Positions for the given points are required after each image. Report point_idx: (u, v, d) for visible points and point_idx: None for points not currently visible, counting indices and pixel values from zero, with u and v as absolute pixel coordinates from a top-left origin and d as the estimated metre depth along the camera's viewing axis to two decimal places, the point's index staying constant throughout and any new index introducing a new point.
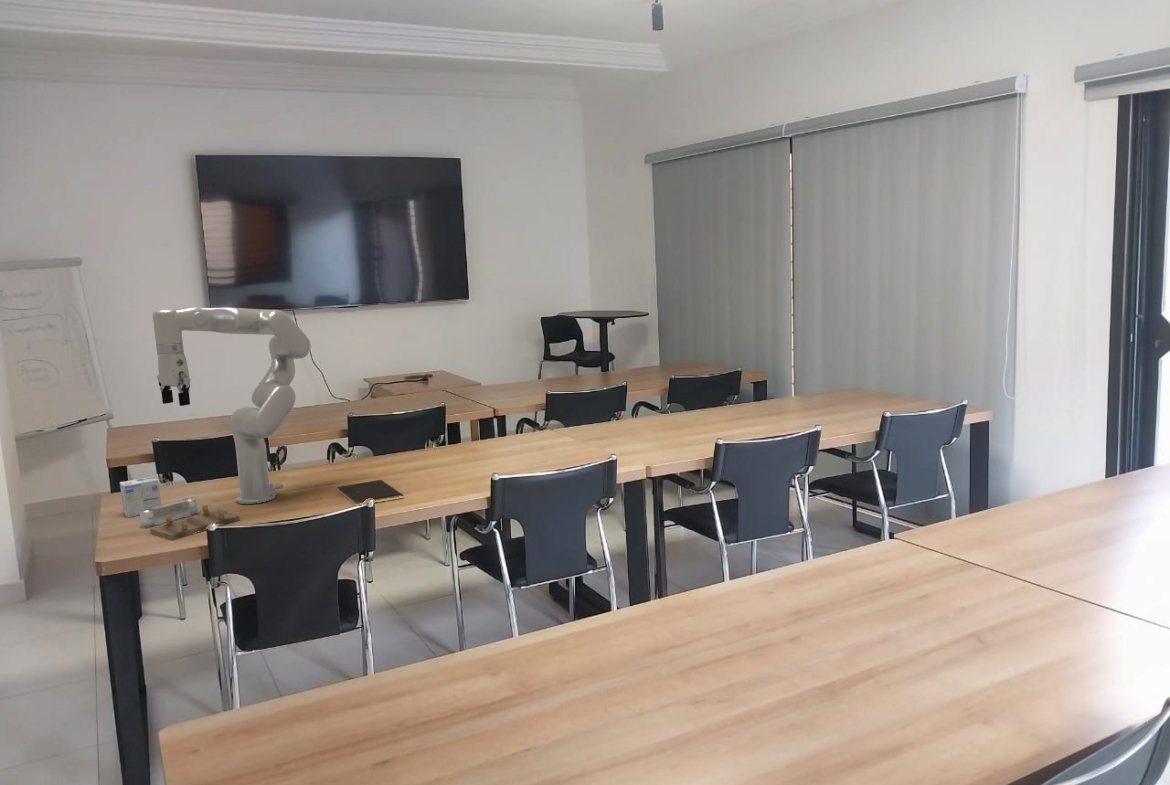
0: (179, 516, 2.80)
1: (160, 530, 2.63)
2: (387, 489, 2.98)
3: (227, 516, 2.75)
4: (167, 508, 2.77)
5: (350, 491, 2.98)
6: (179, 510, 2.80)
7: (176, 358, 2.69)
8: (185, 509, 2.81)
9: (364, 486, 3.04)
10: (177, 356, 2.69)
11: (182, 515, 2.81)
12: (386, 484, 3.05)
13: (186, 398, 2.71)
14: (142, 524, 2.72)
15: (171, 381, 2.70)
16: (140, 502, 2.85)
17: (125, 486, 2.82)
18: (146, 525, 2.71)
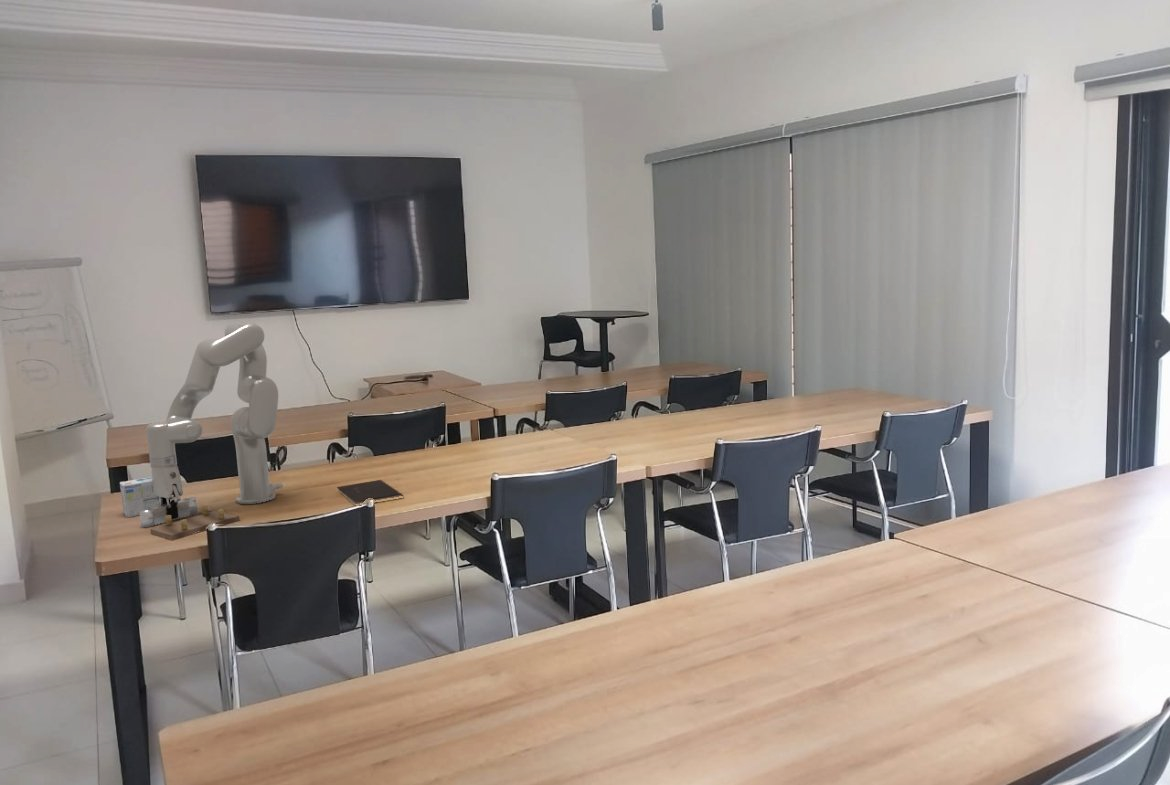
0: (179, 516, 2.80)
1: (160, 530, 2.63)
2: (387, 489, 2.98)
3: (227, 516, 2.75)
4: None
5: (350, 491, 2.98)
6: (179, 510, 2.80)
7: (169, 471, 2.73)
8: (185, 509, 2.81)
9: (364, 486, 3.04)
10: (170, 469, 2.73)
11: (182, 515, 2.81)
12: (386, 484, 3.05)
13: (174, 512, 2.77)
14: (142, 524, 2.72)
15: (164, 493, 2.74)
16: (140, 502, 2.85)
17: (125, 486, 2.82)
18: (146, 525, 2.71)
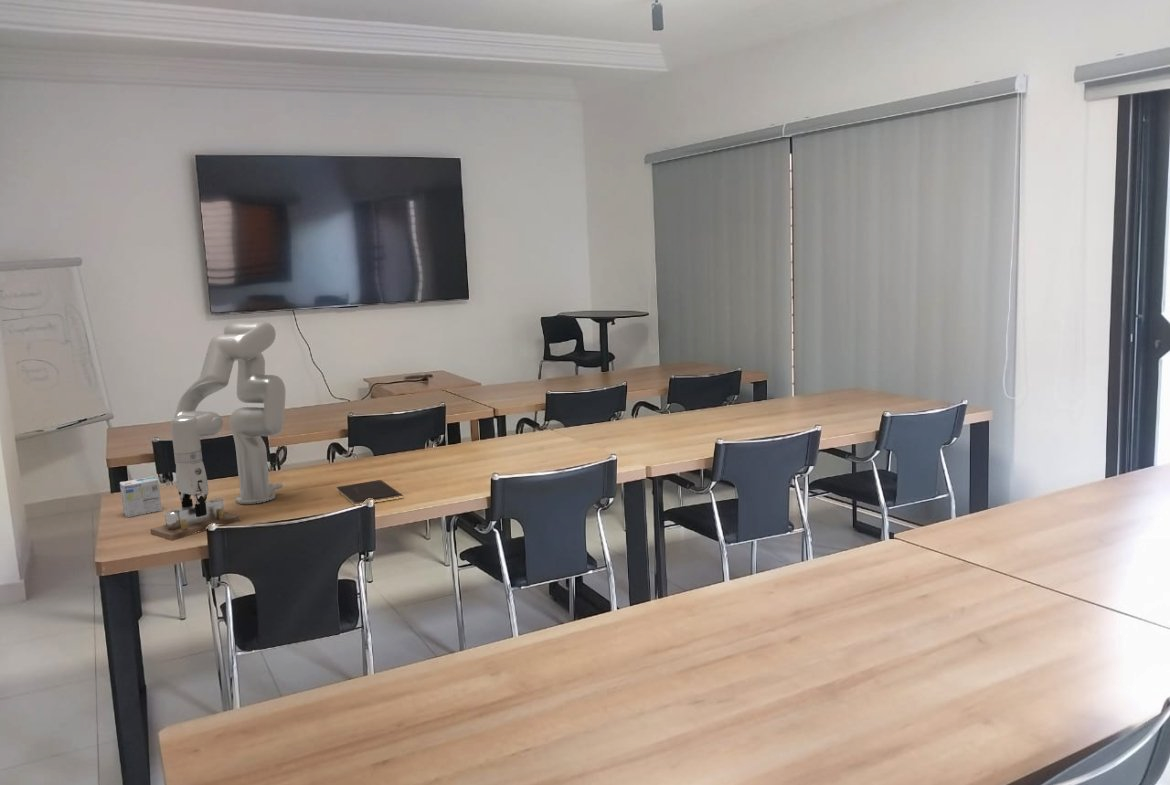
0: (205, 518, 2.71)
1: (160, 530, 2.63)
2: (386, 489, 2.98)
3: (227, 516, 2.75)
4: (194, 510, 2.68)
5: (349, 491, 2.98)
6: None
7: (194, 467, 2.64)
8: (212, 511, 2.72)
9: (364, 486, 3.04)
10: (195, 465, 2.64)
11: (208, 517, 2.72)
12: (386, 484, 3.05)
13: (203, 509, 2.67)
14: (168, 526, 2.63)
15: (189, 490, 2.65)
16: (140, 502, 2.85)
17: (125, 486, 2.82)
18: (172, 527, 2.63)
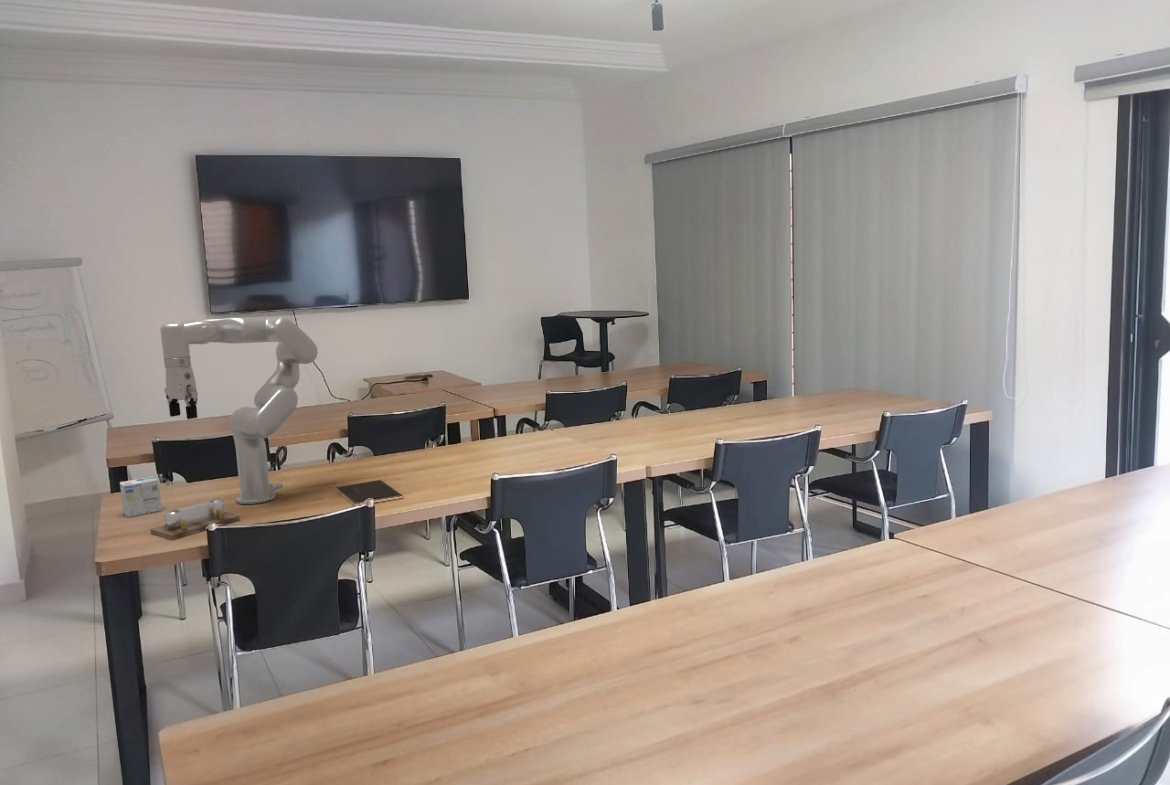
0: (205, 518, 2.71)
1: (160, 530, 2.63)
2: (386, 489, 2.98)
3: (227, 516, 2.75)
4: (194, 510, 2.68)
5: (349, 491, 2.98)
6: (206, 512, 2.71)
7: (184, 372, 2.71)
8: (212, 511, 2.72)
9: (363, 486, 3.04)
10: (185, 370, 2.71)
11: (208, 517, 2.72)
12: (385, 484, 3.05)
13: (193, 411, 2.73)
14: (168, 526, 2.63)
15: (178, 395, 2.72)
16: (140, 502, 2.85)
17: (125, 486, 2.82)
18: (172, 527, 2.63)
